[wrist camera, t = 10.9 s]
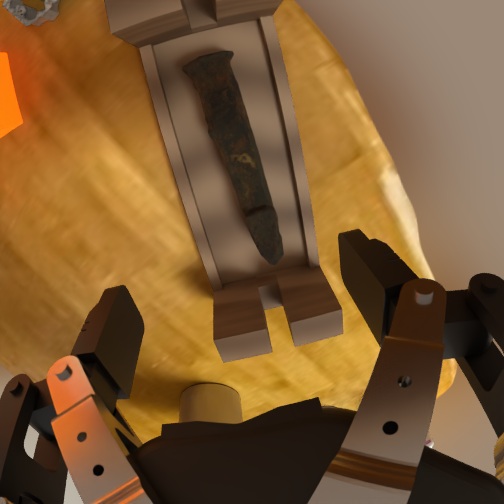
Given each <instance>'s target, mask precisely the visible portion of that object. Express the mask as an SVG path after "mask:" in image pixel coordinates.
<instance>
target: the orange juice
mask: <svg viewBox="0 0 504 504" xmlns="http://www.w3.org/2000/svg"><path fill="white" fill-rule="evenodd" d="M22 123H23V121H22V117H21V114H20V110H19V106H18V102H17V98H16V94H15V90H14V86H13V81H12V77H11V72H10V67H9V62H8V56H7V53H3V52H0V138H1V137H3V136H4V135H5V134H7V133H8V132H10V131H11V130H13V129H14V128H16V127H17V126H19V125H20V124H22Z"/></svg>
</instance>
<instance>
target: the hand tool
mask: <svg viewBox="0 0 504 504" xmlns="http://www.w3.org/2000/svg"><path fill="white" fill-rule="evenodd" d="M233 55H234V53H233V51H220V52H216V53H211V54H207V55H203V56H199V57H198V58H196V59H194V60H192V61H190V62H189V63H188V64H186V65H184V66H183V67H182V71H183V72H184V73H185V74H187V75H188V76H189V77H190V79H191V80H192V82H193V84H194V87H195V89H196V90H197V91H198V94H199V96H200V100H201V102H202V107H203V112H204V114H205V120H206V122H207V125H208V134H209V136H210V137H211V138H212V139H213V140H214V141H215V143H216V144H217V145H218V147H219V150H220V152H221V155H222V158H223V161H224V163H225V166H226V169H227V171H228V174H229V176H230V179H231V181H232V185H233V187H234V189H235V192H236V195H237V198H238V202H239V205H240V208H241V210H242V211H243V213H244V216H245V221H246V225H247V227H248V230H249V232H250V235H251V237H252V239H253V241H254V243H255V245H256V247H257V249H258V251H259V253H260V255H261V256H262V257H264V259H265V260H267V262H268V263H269V264H271V265H276V264H277V263H278V262H279V260H280V259H281V258H282V257H283V255H284V250H283V243H282V236H281V234H280V232H279V226H278V216H277V212H276V210H275V208H274V206H273V202H272V198H271V194H270V191H269V188H268V184H267V180H266V178H265V174H264V169H263V166H262V162H261V158H260V154H259V151H258V148H257V145H256V141H255V137H254V134H253V131H252V128H251V125H250V121H249V118H248V114H247V111H246V108H245V105H244V102H243V99H242V95H241V92H240V88H239V84H238V82H237V80H236V78H235V76H234V73H233V70H232V67H231V62H230V61H231V59H232V57H233Z"/></svg>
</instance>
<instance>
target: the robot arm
mask: <svg viewBox="0 0 504 504" xmlns="http://www.w3.org/2000/svg"><path fill="white" fill-rule="evenodd" d="M338 243H339V255H340V268H341V275H342V279H343V282H344V285H345V287H346V288H347V290H348V292H349V294H350V295H351V297H352V299H353V300H354V302H355V304H356V305H357V307H358V309H359V311H360V312H361V314H362V316H363V317H364V319H365V321H366V323H367V324H368V326H369V328H370V330H371V331H372V333H373V335H374V337H375V339H376V340H377V342H378V344H379V346H380V347H381V349H380V352H379V355H378V358H377V361H376V364H375V366H374V369H373V372H372V375H371V377H370V380H369V383H368V385H367V388H366V390H365V393H364V396H363V398H362V401H361V403H360V405H359V408H358V410H357V411H353V410H349V409H343V408H331V407H326V408H322V407H321V404H320V400H319V397H317V398H313V399H309V400H305V401H301V402H297V403H293V404H289V405H284V406H280V407H277V408H275V409H273V410H270V411H268V412H266V413H263V414H261V415H259V416H256V417H254V418H252V419H249V420H247V421H244V422H243V419H242V409H241V399H240V396H239V394H238V393H237V392H236V391H235V390H233V389H232V388H229V387H227V386H224V385H220V384H199V385H195V386H192V387H189V388H188V389H186V390H185V391H184V392H183V393H182V395H181V398H180V412H179V423H171V424H162V431H161V436H158V437H156V438H154V439H151V440H149V441H148V442H146V443H144V444H142V442H141V441H140V439H139V438H138V437H137V435H136V434H135V432H134V431H133V429H132V428H131V426H130V425H129V423H128V422H127V420H126V419H125V417H124V415H123V414H122V412H121V411H120V409H119V408H118V407H117V406H116V402H117V399H129V398H130V393H131V388H132V383H133V378H134V374H135V369H136V365H137V360H138V356H139V351H140V347H141V343H142V338H143V334H144V322H143V319H142V316H141V314H140V312H139V310H138V309H137V307H136V305H135V303H134V301H133V299H132V297H131V295H130V293H129V291H128V289H127V288H126V286H124V285H120V286H116V287H112V288H107V289H105V290H104V292H103V294H102V296H101V298H100V301H99V303H98V304H97V305H96V306H95V307H94V308H93V309H92V310H91V311H90V312H89V314H88V316H87V318H86V320H85V324H84V325H83V327H82V329H81V332H80V334H79V336H78V338H77V340H76V343H75V345H74V347H73V350H72V352H71V354H70V356H66V357H63V358H61V359H59V360H58V361H56V362H55V363H54V364H53V365H52V366H51V368H50V369H49V371H48V374H47V379H44V380H42V381H39V382H37V383H34V382H33V381H32V380H31V379H30V378H29V377H28V376H27V375H26V374H19V375H17V376H15V377H14V378H12V379H11V380H10V381H9V382H8V384H7V385H6V387H5V389H4V391H3V394H2V396H1V398H0V504H63V503H64V494H65V487H66V479H67V472H68V470H69V473H70V475H71V477H72V480H73V482H74V484H75V486H76V488H77V490H78V493H79V495H80V497H81V499H82V501H83V503H84V504H504V356H503V355H502V353H501V352H500V351H499V349H498V348H497V346H496V345H495V344H494V342H493V341H492V340H493V338H494V339H495V341H496V342H497V344H498V345H499V346H500V348H501V349H502V351H503V353H504V280H503V279H501V278H500V277H498V276H496V275H493V274H489V273H480V274H477V275H475V276H473V277H472V278H471V280H470V282H469V286H468V289H466V290H455V291H446V290H445V289H444V287H443V286H442V285H441V284H439V283H438V282H436V281H434V280H431V279H425V278H418V276H417V275H416V274H415V273H414V272H413V271H412V270H411V269H410V268H409V267H408V266H407V265H406V264H405V262H404V261H403V260H402V259H400V257H399V256H398V255H397V254H396V253H394V251H393V250H392V249H391V248H390V247H389V246H388V245H387V244H386V243H384V242H382V241H379V240H377V239H371V240H369V239H368V238H367V237H366V235H365V234H364V233H363V232H362V231H361V230H360V229H355V230H351V231H347V232H343V233H339V235H338ZM451 358H455V359H456V361H457V363H458V364H459V366H460V368H461V369H462V371H463V373H464V374H465V376H466V378H467V380H468V381H469V383H470V385H471V387H472V388H473V390H474V392H475V394H476V396H477V397H478V399H479V401H480V403H481V405H482V407H483V409H484V411H485V412H486V414H487V416H488V418H489V420H490V422H491V424H492V426H493V428H494V430H495V432H496V434H497V436H498V440H497V442H496V445H495V448H494V459H495V463H494V465H495V468H496V475H495V476H493V475H491V474H489V473H486V472H484V471H481V470H479V469H477V468H474V467H472V466H470V465H467V464H465V463H463V462H460V461H458V460H456V459H454V458H451V457H449V456H447V455H445V454H443V453H441V452H438V451H436V450H434V449H432V448H430V447H428V446H426V445H425V441H426V437H427V434H428V430H429V426H430V422H431V418H432V413H433V409H434V405H435V400H436V395H437V390H438V385H439V380H440V374H441V368H442V361H443V359H451ZM29 425H31V426H32V427H33V428H34V429H35V430H36V431H37V432H38V433H39V437H38V441H37V445H36V449H35V453H34V457H33V459H32V458H30V457H29V456H28V455H27V453H26V452H25V449H24V439H25V436H26V433H27V429H28V426H29Z"/></svg>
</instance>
